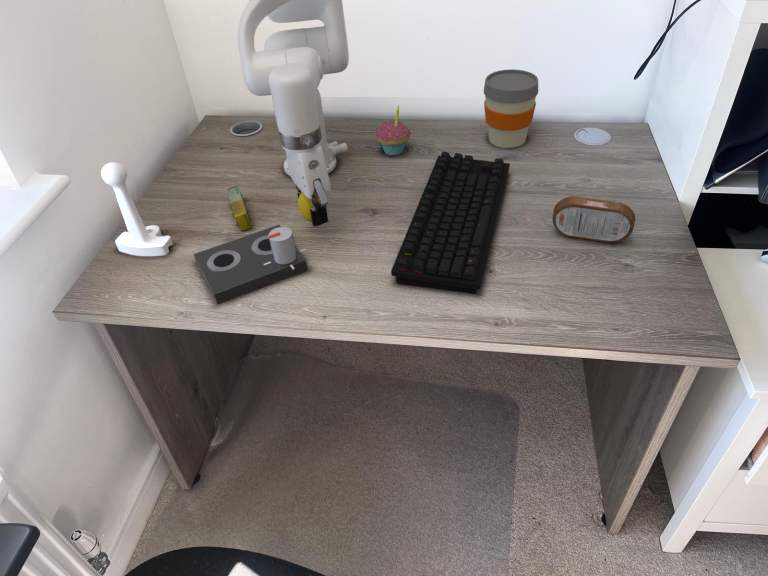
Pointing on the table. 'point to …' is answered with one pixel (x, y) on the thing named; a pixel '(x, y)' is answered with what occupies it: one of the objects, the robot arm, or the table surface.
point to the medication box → (239, 208)
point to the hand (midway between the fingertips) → (314, 215)
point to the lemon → (305, 206)
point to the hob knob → (282, 245)
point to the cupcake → (392, 136)
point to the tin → (593, 219)
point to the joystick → (133, 219)
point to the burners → (237, 255)
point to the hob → (246, 268)
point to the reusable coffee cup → (509, 106)
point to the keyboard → (453, 225)
